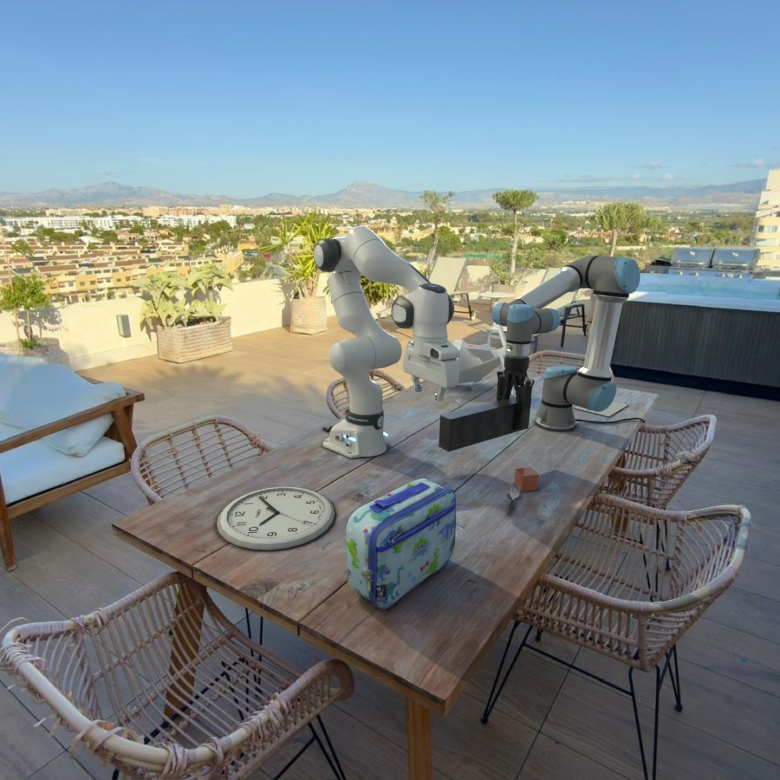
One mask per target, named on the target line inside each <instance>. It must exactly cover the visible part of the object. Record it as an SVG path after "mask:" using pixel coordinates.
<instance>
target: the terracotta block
mask: <svg viewBox="0 0 780 780" xmlns="http://www.w3.org/2000/svg"><path fill="white" fill-rule="evenodd" d="M514 470H515V471H514V478H513V479H514V480H513V485H514V486H515V487H517V485H518V487H517V489H519V487H520V492H531V491H538V485H539V478H540V477H539V476H540V474H539V473H538V472H537V471H536V470H535V469H533V468H532V467H531V466H529V467H528V466H527V467H520V468H519V467H518V468H517V467H516V468H515V469H514Z"/></svg>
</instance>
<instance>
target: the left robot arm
mask: <svg viewBox="0 0 780 780" xmlns="http://www.w3.org/2000/svg"><path fill="white" fill-rule="evenodd" d="M313 260H314V264H315V266H316V267H317V269H318V270H319V271H321V272H324V273H330V274H329V276H328V281H327V282H328V292H329V296H330V301H331V303H332V307H333V310H334V313H335V316H336V319H337V322H338V325H339V327H340V328H341V329H342V330H344V331H347V332H348V333H351V334H352V335H353V336H354V337H350V338H345V339H342V340H340V341H337V342H334V343H333V344H332V345H331V346H330V349H329V351H328V360H329V364H330V366H331V367H332V369H333V370H334V371H335V372H336V373H338V374H339V375H341V377H343V379H344V380H345V383H346V385H347V388H348V397H349V407H348V408H347V409H345V410H344V411H343V412H342V415H343V416H344V415H345V417H344V418H343V419H342V420H340V421H338V422H337V423H336V424H334V425H331V426H329V427H328V428H327V427H325V426H323V427H322V430H324V431H325V432H329V435H328V437H327V438H325V440H323V441H322V447H323V448H326V449H327V450H331V451H333V452H335V453H336V454H337V453H338V454H340V455H341V456H344V457H347V458H349V459H357V458H368V457H369V458H370V457H377V456H380V455H382V454H383V453H385V452H386V451H387V450H388V447H387V444H386V439H385V436H386V437H388V436H389V434H388V433H386V432H385V431H384V423H385V410H384V408H383V406H384V405H383V403H384V401H383V400H384V390H383V388H382V385H381V384H380V383H379V382H377V381H376V380H373V379H371V377H370V371H372V370H378V369H386V368H388V367H391V366H393V365H395V364H398V363H399V362H400V360H401V358H402V355H403V360H402V369H403V372H404V373H405V374H407V375H410V376H411V380H412V383H413V391H414V392H415V393H416V392H417V393H421V392H422V391H423V385H422V384H421V380H423V381H426V382H429V383H431V384H432V385H436V386H437V390H438V391H437V393H435V394H434V400H435V401H437V402H443V401H444V399H445V398H444V397H445V394H446V392H447V391H448V389H454V388H457V386H458V385H459V384H458V382H459V362H458V360H457V359H456V358H459V357H460V351H459V349H457V348H456V347H455V346H454V345H453V344H454V343H452V342H451V341H450V340H448V338H449V337H448V331H447V327H448V325H449V323H450V322H451V320H452V319H453V317H454V314H455V303H454V301H453V298H452V297H451V296H450V295H449V293H448V290H447V288H445V286H443V285H441V284H438V283H433V282H431V281H430V280H429V279H428V278H427V277H426V276H425V275H423V273H421V271H419V270H418V269H417V268H416V267H415V266H413V264H411V263H410V262H408V261H407V260H405V259H404V258H402V257H401V256H400V255H397V254H396V253H395V252H394V251H393V250H391V248H390V247H388V246H387V245H386V244H385V242H384V241H383V239H381V237H380V236H378V234H377V233H375V231H373V230H372V229H370V228H369V227H367V226H364V225H357V226H354V227H351V229H350V230H348V232H347V233H346V235H345V236H338V237H337V236H336V237H325V238H322V239H320V240H318V241H317V242H316V244H315V245H314V246H313ZM361 275H362V276H363V277H364V278H365V279H367V280H368V281H370V282H373V283H378V284H388V285H394V286H398V287H402V288H404V289H406V290H407V291H409V292H406V293H403V294H400V295H397V297H395V299H393V302H392V304H391V309H390V310H391V311H390V312H391V313H390V315H391V319H392V322H393V323H394V324H395V325H396V326H397V327H398V328H399V329H404V330H414V333H413V340H409V341H408V342H407V343H406V347H405V350H404V354H403V347H402V344H401V342H400V340H399V339H398V338H397V337H396V336H394V335H392V334H390V333H389V332H388V331H386V330H385V329H384V327H383V328H382V326H381V325H380V324H379V323H378V322H377V320H376V319H375V317H374V316H373V313H372V311H371V309H370V307H369V304H368V301H367V298H366V295H365V292H364V289H363V287H362V285H361V280H360V277H361Z"/></svg>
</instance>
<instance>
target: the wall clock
mask: <svg viewBox="0 0 780 780" xmlns="http://www.w3.org/2000/svg"><path fill="white" fill-rule="evenodd" d="M335 516H336V513H335V509H334V505H333V504H332V503H331V502H330V500H329V499H328V498H327V497H325V496H323V495H322V494H321V493H319V492H316V491H313V490H311V489H307V488H302V487H296V486H279V487H278V486H277V487H267V488H263V489H258V490H255V491H251V492H249V493H246V494H243V495H242V496H240V497H238V498H235V499H234V500H232V501H231V502H230V503H228V505H226V506H225V507H223V509H222V510H221V512H220V514H219V515H218V517H217V521H216V529H217V531H218V533H219V535H220V536H221V537H222V538H223V539H224V540H225V541H226V542H227V543H230V544H233V545H235V546H236V547H239V548H244V549H249V550H257V551H274V550H285V549H289V548H292V547H297V546H301V545H304V544H306V543H308V542H310V541H312V540H315V539H317V538H318V537H319V536H321V535H323V534H324V533H325V532H326V531H328V529H329V528H330V527H331V525H332V524H333V522H334V518H335Z"/></svg>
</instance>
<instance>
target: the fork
mask: <svg viewBox="0 0 780 780" xmlns="http://www.w3.org/2000/svg"><path fill="white" fill-rule="evenodd" d="M513 485H514V483H512V485H511V488H510V492H509V497H510V498H512V499H511V501H510V503H509V505H508V511H507V512H508V513H507V517H510V514H511V513H512V511H513V509H514V503H515V502H514V501H515V499H518V498H519V497H520V492H521V490H520V487H519V488H518V485H517V486H514V487H513Z"/></svg>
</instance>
